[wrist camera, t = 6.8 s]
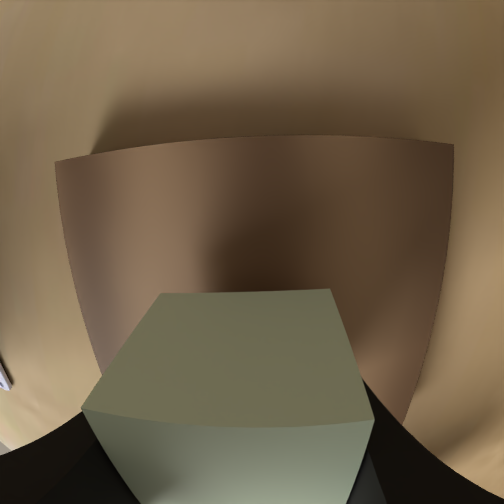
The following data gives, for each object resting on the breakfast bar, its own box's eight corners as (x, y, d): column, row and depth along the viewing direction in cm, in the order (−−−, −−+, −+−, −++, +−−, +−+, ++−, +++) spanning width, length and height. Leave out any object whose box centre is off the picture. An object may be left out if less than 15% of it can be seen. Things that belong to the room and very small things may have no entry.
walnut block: (145, 402, 17) (128, 438, 14) (94, 157, 13) (54, 161, 10) (382, 404, 16) (395, 441, 13) (418, 143, 11) (453, 144, 9)
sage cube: (187, 409, 11) (153, 519, 6) (160, 293, 9) (80, 408, 5) (321, 410, 10) (335, 528, 6) (330, 288, 9) (374, 419, 4)
